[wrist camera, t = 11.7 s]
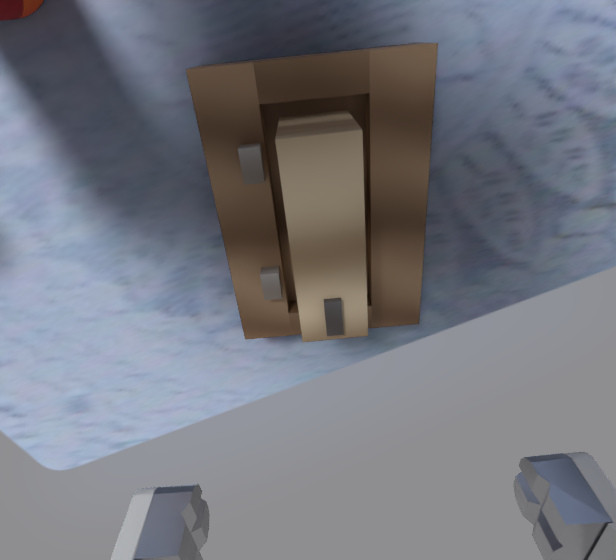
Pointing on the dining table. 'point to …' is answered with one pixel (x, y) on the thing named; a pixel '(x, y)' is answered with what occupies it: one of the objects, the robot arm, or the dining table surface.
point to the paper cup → (18, 8)
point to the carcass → (267, 184)
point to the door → (325, 221)
